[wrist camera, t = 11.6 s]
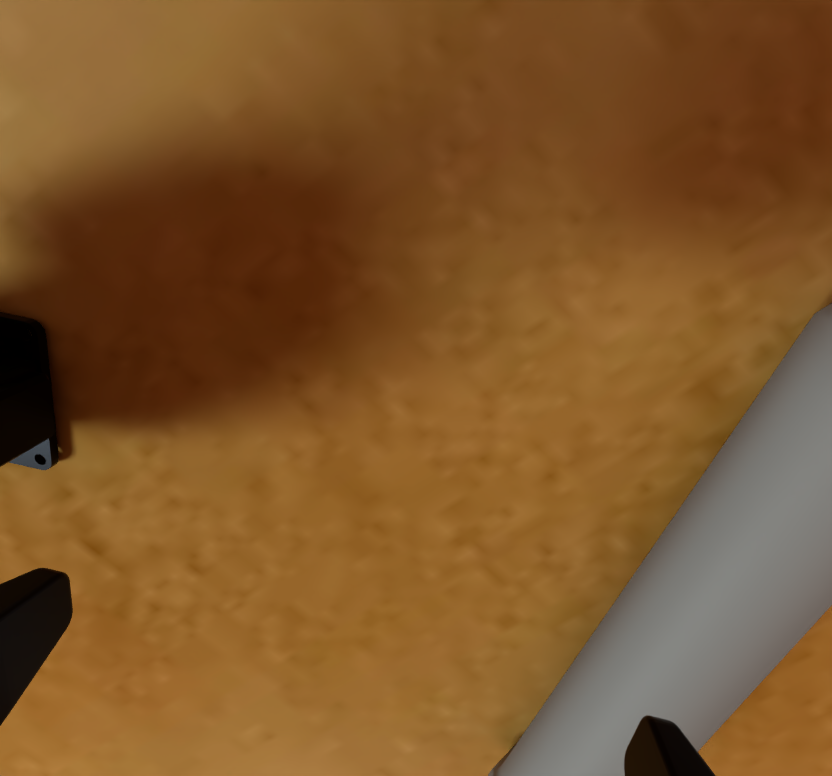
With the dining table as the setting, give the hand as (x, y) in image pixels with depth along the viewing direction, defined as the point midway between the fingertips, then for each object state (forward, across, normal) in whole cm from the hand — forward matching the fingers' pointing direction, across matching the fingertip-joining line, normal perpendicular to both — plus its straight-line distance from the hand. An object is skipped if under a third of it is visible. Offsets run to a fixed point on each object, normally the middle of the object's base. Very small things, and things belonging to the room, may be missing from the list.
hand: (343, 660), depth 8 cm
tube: (+12, -11, +6) cm, 18 cm away
